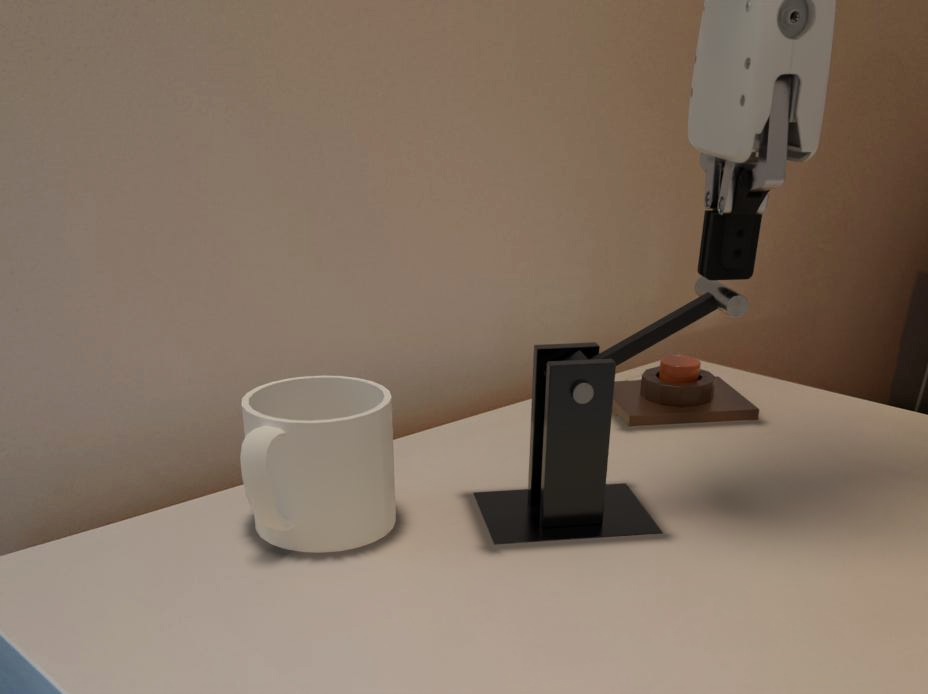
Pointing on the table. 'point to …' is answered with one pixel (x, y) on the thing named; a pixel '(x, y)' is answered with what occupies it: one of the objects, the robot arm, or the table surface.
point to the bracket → (567, 459)
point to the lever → (676, 320)
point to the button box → (679, 401)
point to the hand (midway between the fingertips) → (724, 276)
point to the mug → (319, 462)
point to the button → (679, 369)
